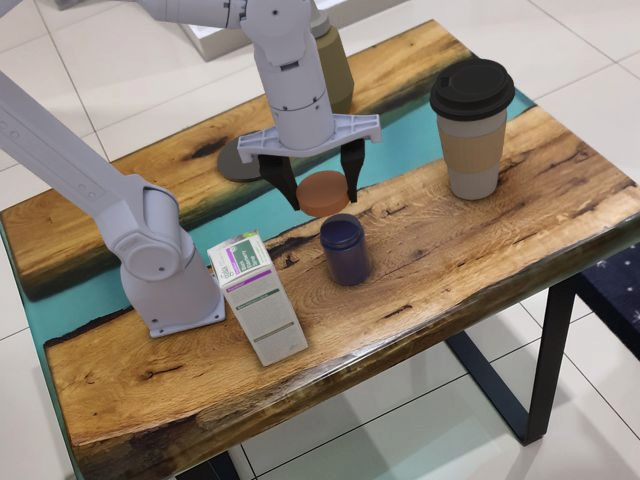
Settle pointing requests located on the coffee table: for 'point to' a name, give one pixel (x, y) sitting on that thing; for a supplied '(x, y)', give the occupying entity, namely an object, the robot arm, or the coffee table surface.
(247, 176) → the coaster
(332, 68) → the squeeze bottle
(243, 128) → the coffee table surface
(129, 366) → the coffee table surface
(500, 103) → the coffee cup
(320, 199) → the jar lid
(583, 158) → the coffee table surface
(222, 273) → the syrup box
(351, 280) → the jar
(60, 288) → the coffee table surface
